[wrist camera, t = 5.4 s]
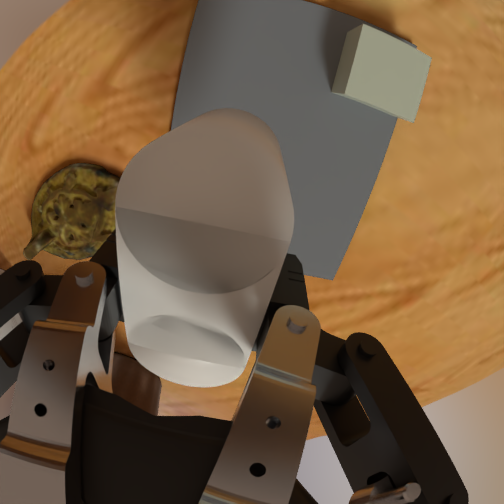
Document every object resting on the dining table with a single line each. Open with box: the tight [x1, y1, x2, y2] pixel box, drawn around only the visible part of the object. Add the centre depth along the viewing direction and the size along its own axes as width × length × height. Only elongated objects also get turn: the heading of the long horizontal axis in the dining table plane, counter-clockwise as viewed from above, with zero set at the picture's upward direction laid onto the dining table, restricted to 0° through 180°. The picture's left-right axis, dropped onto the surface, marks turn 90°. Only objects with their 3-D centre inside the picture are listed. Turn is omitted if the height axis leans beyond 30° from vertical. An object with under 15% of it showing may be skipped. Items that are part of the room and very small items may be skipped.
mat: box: [171, 0, 417, 280], centre depth 19 cm, size 22×16×1 cm
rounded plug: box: [115, 108, 294, 387], centre depth 10 cm, size 12×4×5 cm, turn 168°
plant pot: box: [111, 353, 162, 416], centre depth 32 cm, size 16×16×16 cm
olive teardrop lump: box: [23, 163, 120, 260], centre depth 22 cm, size 9×5×15 cm
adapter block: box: [331, 24, 432, 123], centre depth 14 cm, size 5×5×4 cm
